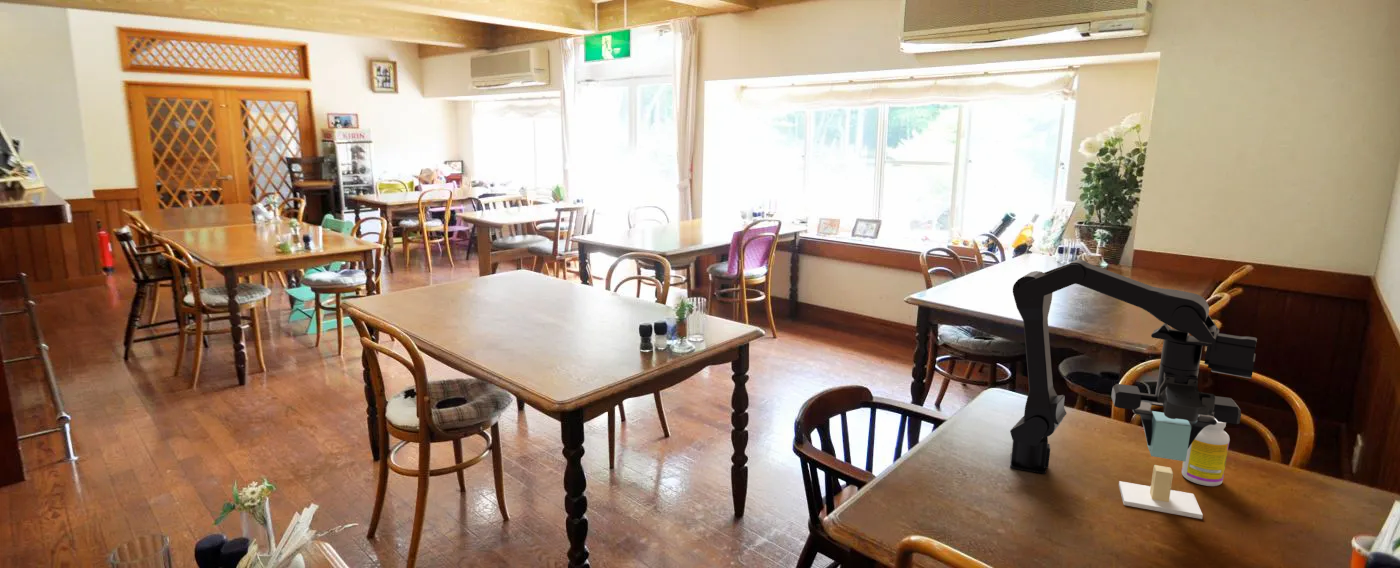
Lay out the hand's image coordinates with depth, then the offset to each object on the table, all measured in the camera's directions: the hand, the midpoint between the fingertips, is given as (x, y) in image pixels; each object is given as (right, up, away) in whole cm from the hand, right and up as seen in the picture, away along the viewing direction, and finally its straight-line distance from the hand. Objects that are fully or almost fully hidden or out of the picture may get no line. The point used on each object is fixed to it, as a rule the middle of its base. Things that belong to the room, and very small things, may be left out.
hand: (1166, 447), depth 130 cm
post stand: (0, -10, +2) cm, 11 cm away
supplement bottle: (+14, -9, +10) cm, 19 cm away
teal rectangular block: (0, -1, 0) cm, 1 cm away
